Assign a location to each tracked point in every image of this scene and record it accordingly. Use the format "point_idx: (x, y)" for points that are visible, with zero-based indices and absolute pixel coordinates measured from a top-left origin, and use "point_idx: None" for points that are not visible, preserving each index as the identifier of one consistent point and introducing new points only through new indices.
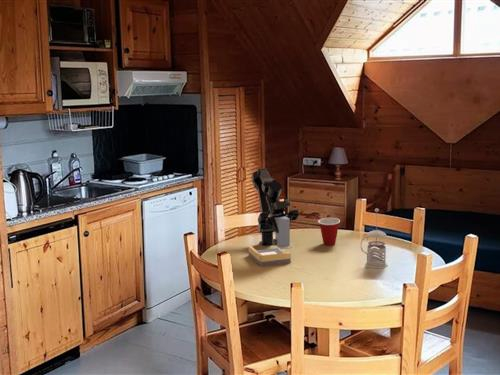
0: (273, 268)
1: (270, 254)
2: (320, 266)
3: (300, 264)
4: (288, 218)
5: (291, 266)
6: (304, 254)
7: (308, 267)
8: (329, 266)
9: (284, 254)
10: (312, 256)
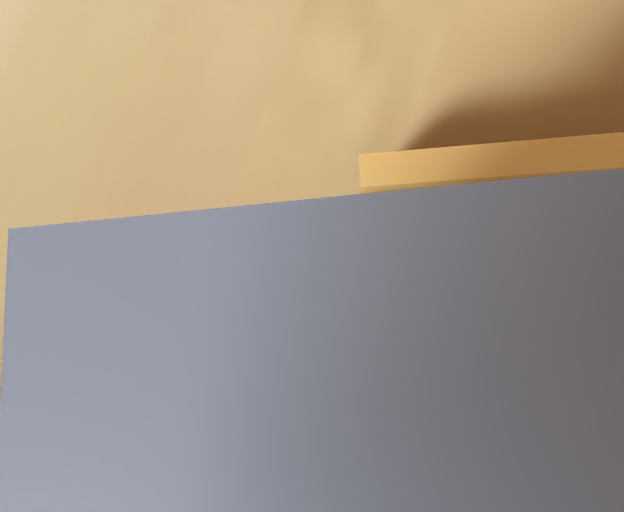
0: (586, 68)
1: None
2: (152, 20)
3: (291, 118)
4: (34, 337)
5: (392, 83)
6: None
7: (255, 19)
8: (86, 4)
9: (439, 150)
10: None
